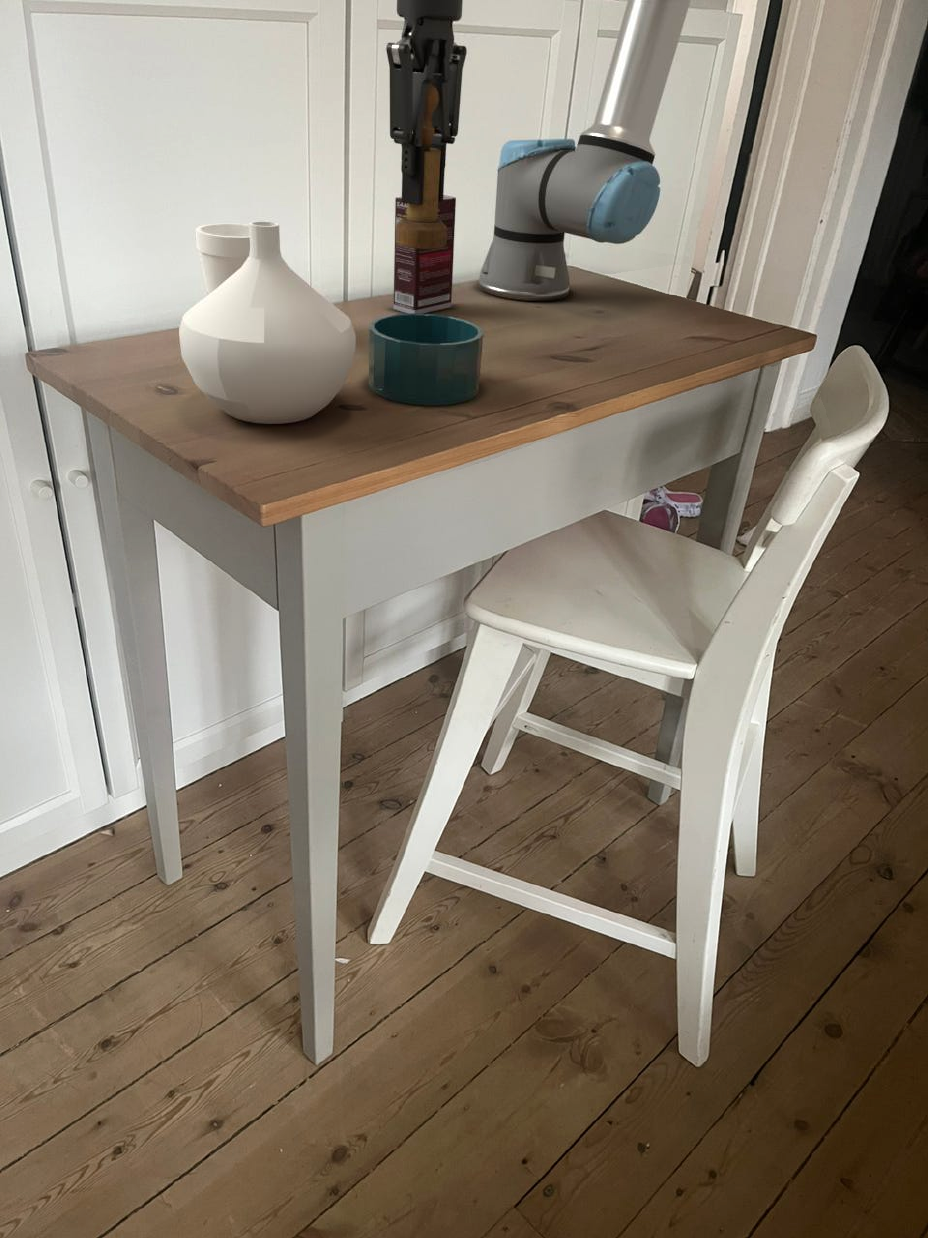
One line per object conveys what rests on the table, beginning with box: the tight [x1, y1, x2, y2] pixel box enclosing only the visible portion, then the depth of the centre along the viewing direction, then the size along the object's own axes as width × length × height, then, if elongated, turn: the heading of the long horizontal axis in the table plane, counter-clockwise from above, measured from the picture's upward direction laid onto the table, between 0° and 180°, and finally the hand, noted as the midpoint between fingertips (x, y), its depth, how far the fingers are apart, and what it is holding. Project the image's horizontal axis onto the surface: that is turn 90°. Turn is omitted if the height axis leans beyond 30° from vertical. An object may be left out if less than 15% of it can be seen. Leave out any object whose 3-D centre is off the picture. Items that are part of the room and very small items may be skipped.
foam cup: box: [194, 222, 250, 296], centre depth 125 cm, size 10×9×13 cm
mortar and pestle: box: [396, 85, 447, 249], centre depth 117 cm, size 7×6×18 cm
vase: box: [178, 220, 357, 425], centre depth 99 cm, size 18×18×19 cm
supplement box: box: [392, 194, 457, 314], centre depth 141 cm, size 9×5×16 cm, turn 139°
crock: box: [368, 313, 484, 407], centre depth 112 cm, size 13×13×7 cm
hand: (422, 200), depth 119 cm, fingers closed on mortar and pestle, 4 cm apart
